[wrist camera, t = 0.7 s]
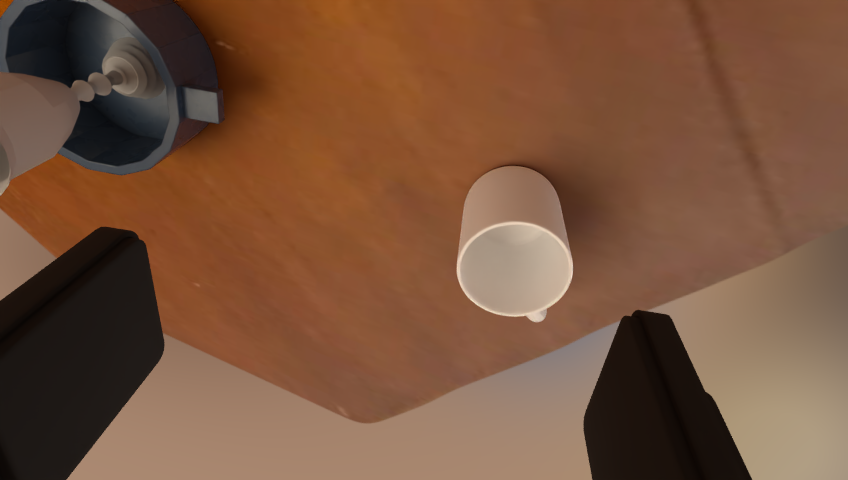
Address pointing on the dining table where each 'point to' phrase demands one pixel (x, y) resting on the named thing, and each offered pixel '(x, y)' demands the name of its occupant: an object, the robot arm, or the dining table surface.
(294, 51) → the dining table surface
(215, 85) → the pot
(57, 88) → the chalice
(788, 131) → the dining table surface
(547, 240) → the mug
